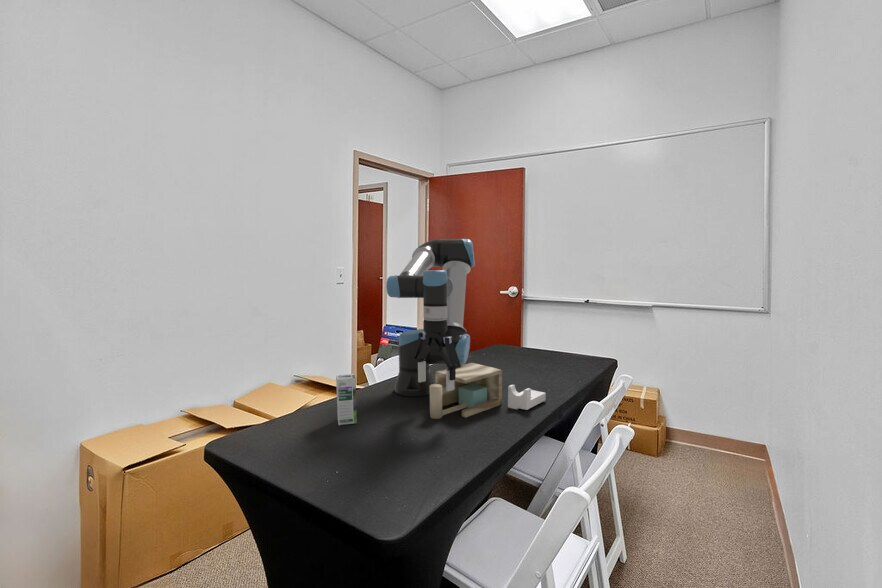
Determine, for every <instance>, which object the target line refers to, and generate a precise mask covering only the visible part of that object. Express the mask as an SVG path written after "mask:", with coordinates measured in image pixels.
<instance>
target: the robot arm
mask: <svg viewBox="0 0 882 588" xmlns="http://www.w3.org/2000/svg"><path fill="white" fill-rule="evenodd" d="M474 250H475V249H474V244H473V241H472V240H471V239H469V238H442V239H439V238H438V239H437V238H436V239H435V238H434V239H431V240H429V241H427V242H424V243H422V244H421V245H419V246H418V247H417V248H415V250H413V253H412V254H411V259H410V260H409V261H408V263H407V265H406V266H405V267H404V268H403V270H402V271H401V272H400V274H399V275H390V276H389V277H387V281H386V287H385V288H386V294H387V295H388V297H390V298H398V299H422V303H423V307H422V308H423V309H422V310H423V319H424V320H423V321H422V322H423V323H422V324H423V325H422V326H423V328H419V329H412V330H407V331H404V332H401V334H399V337H398V371H399V372H398V374H397V378H396V381H395V384H394V392H395V393H396V394H398V396H399V395H400V396H403V397H423V396H427V395H430V385H432V384H435V382H434V379H433V375H432V373H431V371H430V369H431V368H430V365H432V366H433V365H434V366H435V365H436V366H437V365H438V366H441V365H442V366H446V367H447V368H446V369H447V370H446V391H451V390H454V380H455V378H456V377H455V376H456V369H457V368H460V367H461V365H464V364H467V363H466V362H467V361H468V357H469V354H470V353H469V352H470V348H471V336H470V334H468V333H467V329H466V328H465V327H464V318H465V317H464V315H465V302H466V289H467V287H466V286H467V275H468V274H469V273H470V272H471V270H472V269H471V268H474V267H475V265H476V261H475V251H474ZM437 267H438V268H442V269H441V270H440V269H437V270H436V269H435V270H433V269H432V270H430V269H431V268H437Z"/></svg>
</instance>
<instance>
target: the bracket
mask: <svg viewBox="0 0 882 588" xmlns="http://www.w3.org/2000/svg"><path fill="white" fill-rule="evenodd" d="M507 391H508V392H507V395H508V396H507V407H508V408H509V409H512V410H513V409H514V410H519V409H521V410H525V411H527V410H529V409H531V408H534V407H535V406H537V405H538V404H541V403H543V402H545V401H546V396H547V395H546V392H543V391H538V390H534V389H531V388H529V387H527V388H526V389H523V390H522V391H520V392H519V391H517V389H516V385H515V384H510V385H508V386H507Z"/></svg>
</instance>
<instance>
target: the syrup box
mask: <svg viewBox="0 0 882 588" xmlns="http://www.w3.org/2000/svg"><path fill="white" fill-rule="evenodd" d="M356 379H357V378H356V375H355V373H349V374H348V373H347V374H346V373H345V374H336V375H335V381H336V383H335V384H336V410H337V425H338V426H344V425H351V424H358V416H357V415H358V413H357V412H358V409H357V380H356Z"/></svg>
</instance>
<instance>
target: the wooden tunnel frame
mask: <svg viewBox="0 0 882 588" xmlns="http://www.w3.org/2000/svg"><path fill="white" fill-rule="evenodd" d="M447 369H448V368H444V369H439V370H436V371H435V374H434V379H435V380H434V381H435V382H434V384H440V385H442V408H443V407H445V406H448V405H452V404H455V403H459V387H461V386H464V385H468V384H471V383H474V384H477V385H481V386H484V387H487V402H484V403H481V404H479V405H476V406H473V407H470V408H468V407H466V408H463V409H461V417H462V418H469V417H471V416H474V415H476V414H479V413H482V412H484V411H489V410H491V409H493V408H495V407H499V406H501V405H503V402H502V401H503V369H499V368H497V367H492V366H489V365H488V366H487V365H483V364H479V363H475V362H469V363H465V364H463V365H461V367H460V368H457V369H456V376H455V377H456V378H455V380H454V390H451V391H446V370H447Z"/></svg>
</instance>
